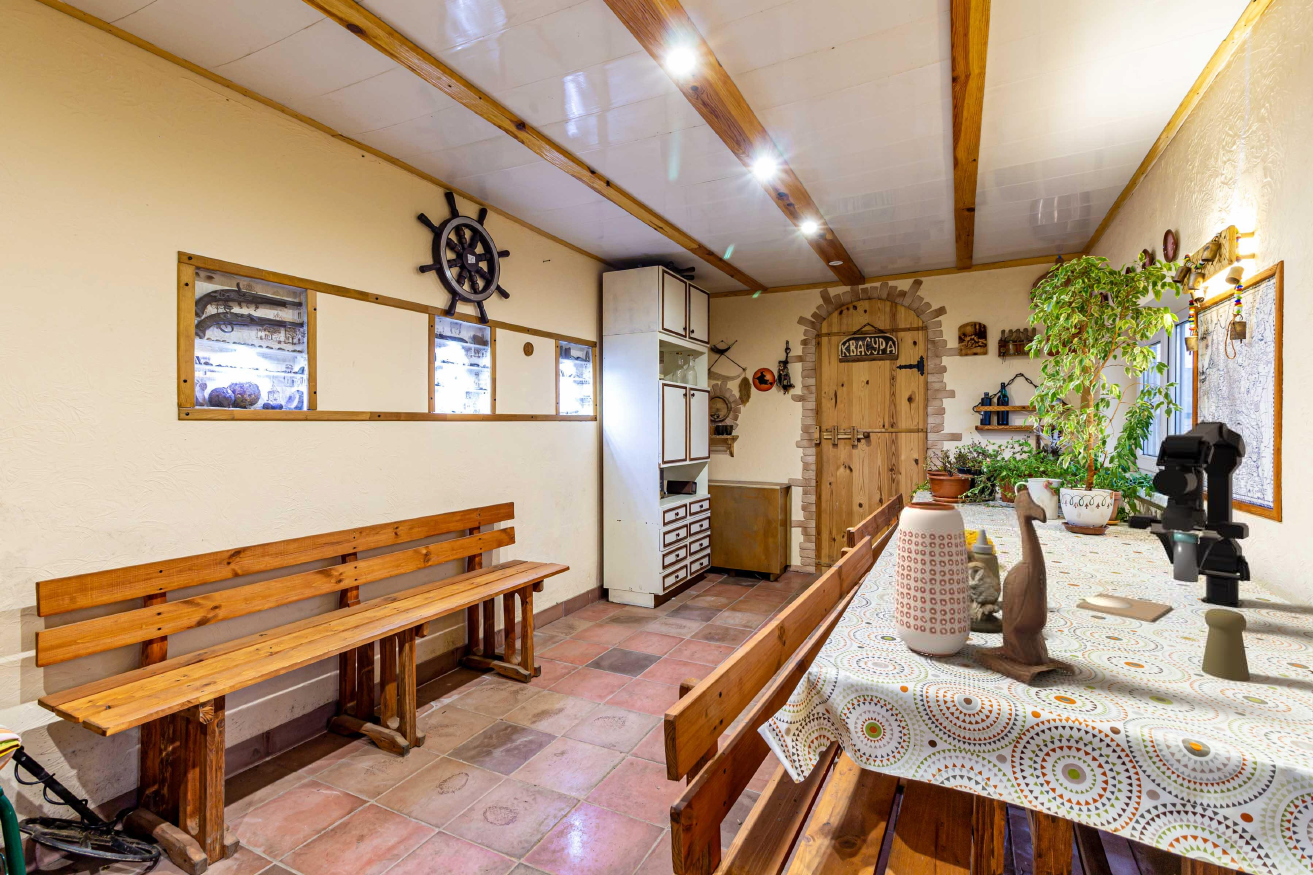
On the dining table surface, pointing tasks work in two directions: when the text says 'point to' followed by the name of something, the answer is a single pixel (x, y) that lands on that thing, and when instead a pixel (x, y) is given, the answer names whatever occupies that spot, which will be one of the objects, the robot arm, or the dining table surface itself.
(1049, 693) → the dining table surface
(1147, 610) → the kraft pad
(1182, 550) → the marker
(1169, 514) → the robot arm
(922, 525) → the patterned ceramic vase
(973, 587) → the owl figurine
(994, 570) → the squeeze bottle
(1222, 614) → the cork
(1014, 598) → the bird sculpture
